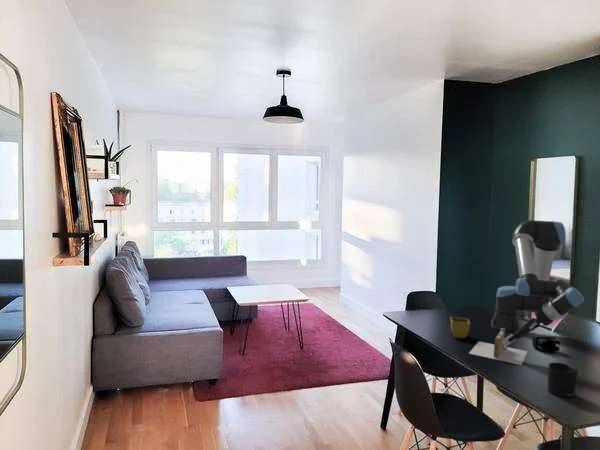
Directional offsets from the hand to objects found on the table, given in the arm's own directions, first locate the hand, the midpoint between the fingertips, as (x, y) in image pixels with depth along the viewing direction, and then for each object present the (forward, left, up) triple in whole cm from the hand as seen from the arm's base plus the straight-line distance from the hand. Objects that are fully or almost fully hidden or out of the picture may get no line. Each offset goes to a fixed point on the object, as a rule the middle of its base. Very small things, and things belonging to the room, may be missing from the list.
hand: (503, 343), depth 212 cm
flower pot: (-17, -23, -6) cm, 29 cm away
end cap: (-23, +16, -6) cm, 28 cm away
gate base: (-4, -2, -6) cm, 7 cm away
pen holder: (+29, +25, -6) cm, 39 cm away
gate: (-3, -2, -5) cm, 6 cm away
